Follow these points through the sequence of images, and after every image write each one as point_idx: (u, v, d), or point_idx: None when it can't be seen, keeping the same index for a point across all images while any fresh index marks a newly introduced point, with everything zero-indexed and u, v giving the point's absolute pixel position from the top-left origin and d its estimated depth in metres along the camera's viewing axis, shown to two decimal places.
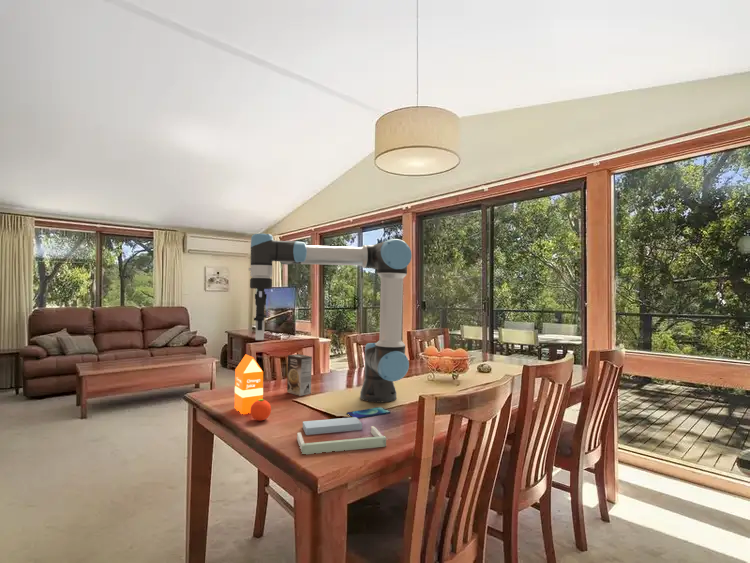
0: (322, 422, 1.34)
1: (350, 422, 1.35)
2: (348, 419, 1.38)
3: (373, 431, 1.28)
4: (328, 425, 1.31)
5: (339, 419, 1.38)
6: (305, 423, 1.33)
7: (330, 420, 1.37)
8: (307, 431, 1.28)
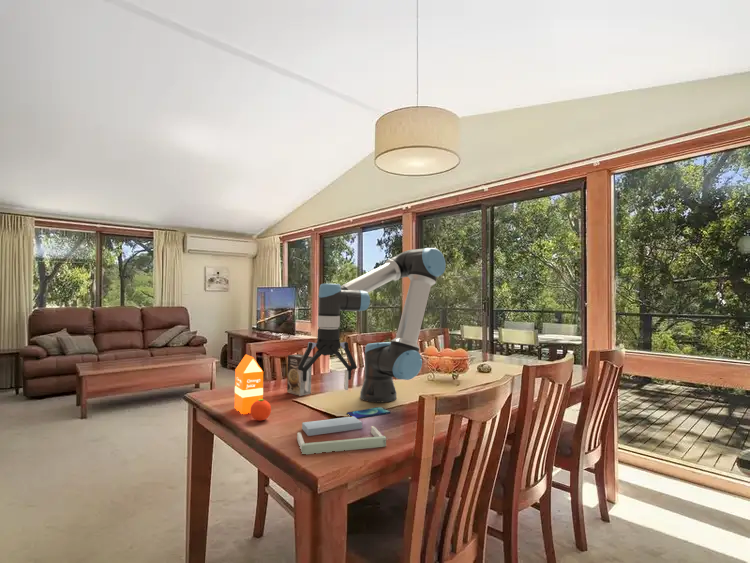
0: (322, 423, 1.34)
1: (350, 421, 1.35)
2: (347, 418, 1.38)
3: (373, 431, 1.28)
4: (330, 426, 1.31)
5: (338, 419, 1.38)
6: (305, 424, 1.32)
7: (330, 420, 1.37)
8: (309, 432, 1.28)
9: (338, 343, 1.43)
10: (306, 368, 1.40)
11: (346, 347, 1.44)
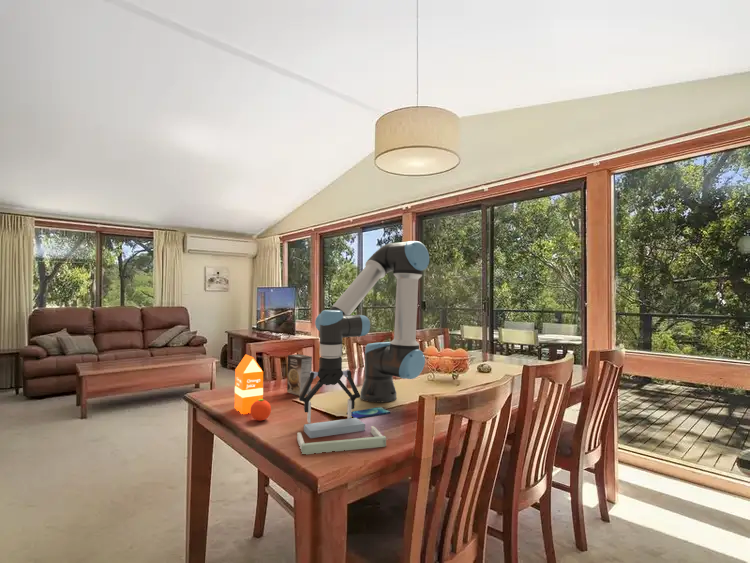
0: (324, 424, 1.32)
1: (352, 423, 1.33)
2: (349, 420, 1.36)
3: (373, 431, 1.28)
4: (332, 427, 1.29)
5: (340, 420, 1.36)
6: (307, 426, 1.30)
7: (332, 421, 1.35)
8: (311, 434, 1.26)
9: (341, 372, 1.38)
10: (308, 399, 1.35)
11: (349, 376, 1.39)
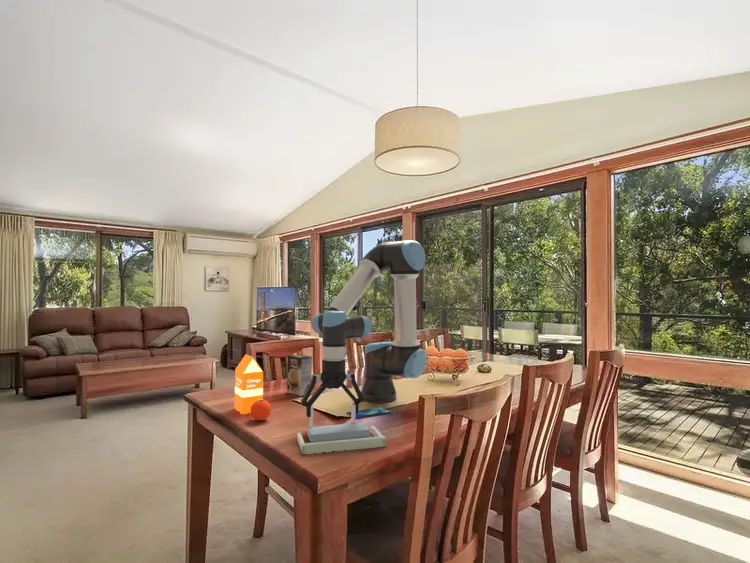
0: (327, 428, 1.28)
1: (357, 428, 1.28)
2: (354, 425, 1.32)
3: (373, 431, 1.28)
4: (334, 432, 1.25)
5: (345, 425, 1.31)
6: (310, 429, 1.27)
7: (336, 425, 1.31)
8: (312, 438, 1.22)
9: (344, 375, 1.33)
10: (310, 403, 1.30)
11: (353, 379, 1.34)
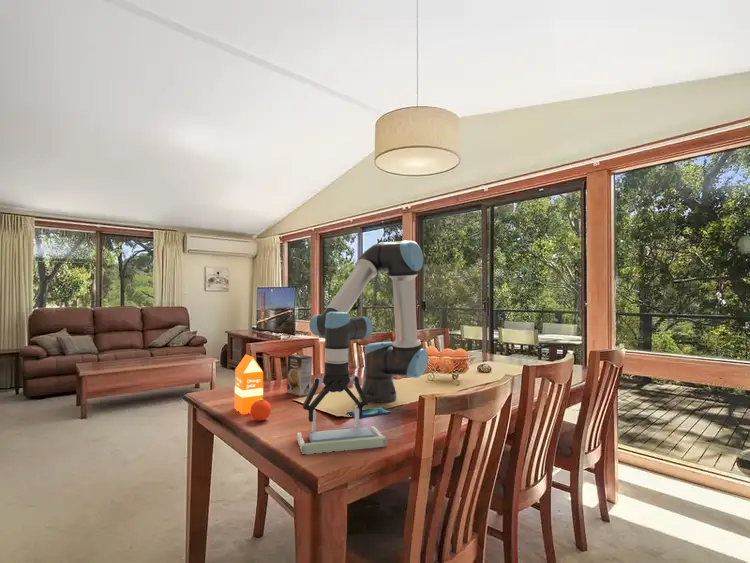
0: (330, 433, 1.24)
1: (360, 433, 1.24)
2: (358, 430, 1.28)
3: (373, 431, 1.28)
4: (337, 437, 1.21)
5: (348, 430, 1.27)
6: (312, 434, 1.23)
7: (339, 430, 1.27)
8: None
9: (347, 378, 1.29)
10: (312, 407, 1.26)
11: (356, 382, 1.30)
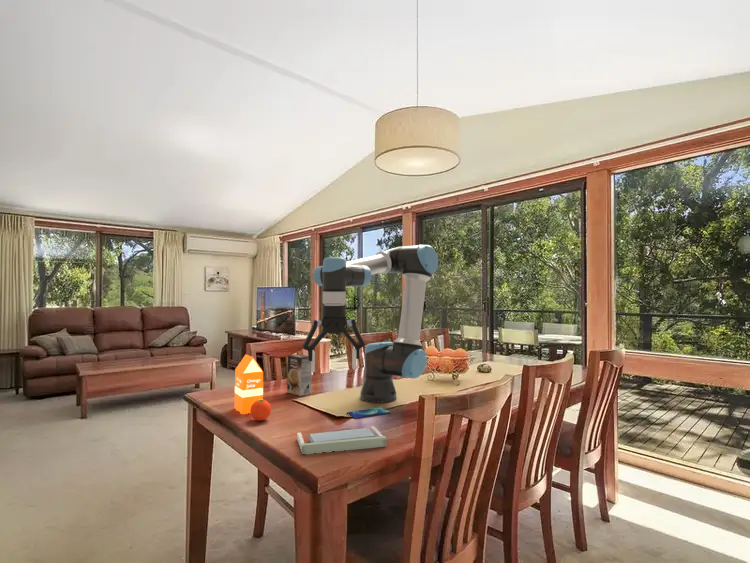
0: (331, 435, 1.23)
1: (362, 434, 1.23)
2: (359, 431, 1.26)
3: (373, 431, 1.28)
4: (338, 439, 1.19)
5: (349, 431, 1.26)
6: (313, 436, 1.21)
7: (340, 432, 1.25)
8: None
9: (345, 320, 1.35)
10: (311, 347, 1.32)
11: (353, 324, 1.36)
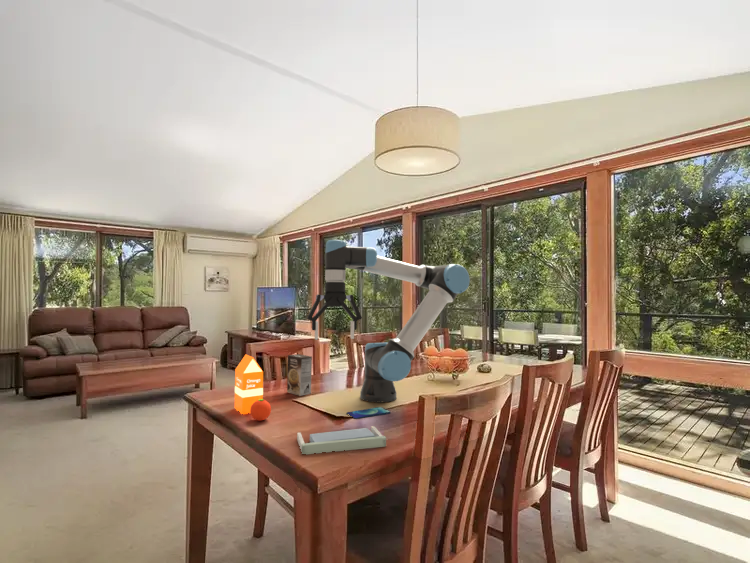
0: (331, 435, 1.22)
1: (362, 434, 1.23)
2: (359, 431, 1.27)
3: (373, 431, 1.28)
4: (339, 439, 1.19)
5: (349, 431, 1.26)
6: (313, 436, 1.21)
7: (340, 432, 1.25)
8: None
9: (344, 295, 1.54)
10: (315, 318, 1.51)
11: (352, 299, 1.55)
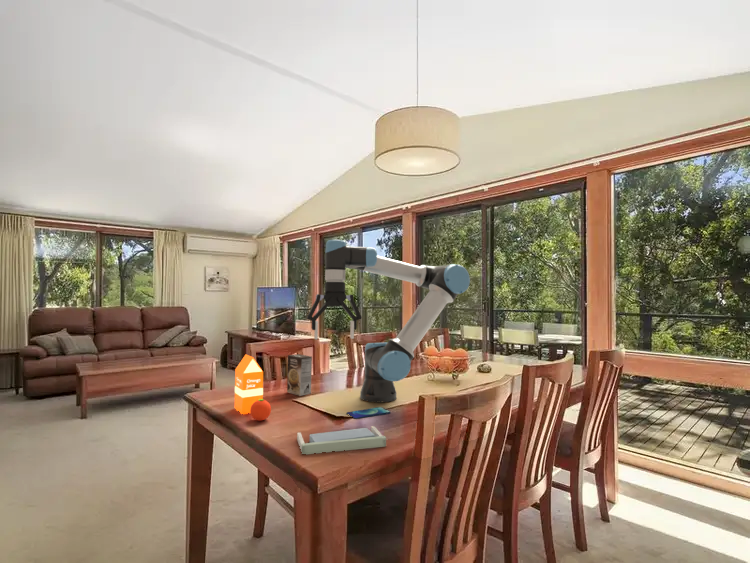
0: (331, 435, 1.22)
1: (362, 434, 1.24)
2: (358, 430, 1.27)
3: (373, 431, 1.28)
4: (339, 439, 1.19)
5: (349, 431, 1.26)
6: (313, 436, 1.21)
7: (339, 432, 1.25)
8: None
9: (344, 295, 1.55)
10: (315, 318, 1.51)
11: (351, 299, 1.55)
